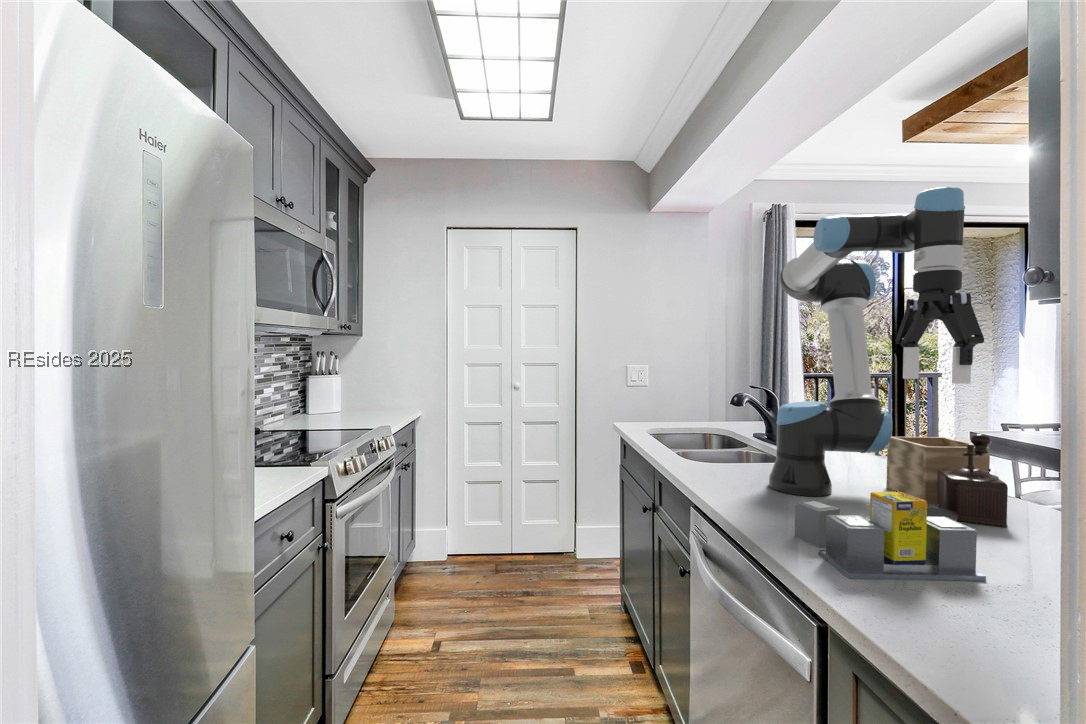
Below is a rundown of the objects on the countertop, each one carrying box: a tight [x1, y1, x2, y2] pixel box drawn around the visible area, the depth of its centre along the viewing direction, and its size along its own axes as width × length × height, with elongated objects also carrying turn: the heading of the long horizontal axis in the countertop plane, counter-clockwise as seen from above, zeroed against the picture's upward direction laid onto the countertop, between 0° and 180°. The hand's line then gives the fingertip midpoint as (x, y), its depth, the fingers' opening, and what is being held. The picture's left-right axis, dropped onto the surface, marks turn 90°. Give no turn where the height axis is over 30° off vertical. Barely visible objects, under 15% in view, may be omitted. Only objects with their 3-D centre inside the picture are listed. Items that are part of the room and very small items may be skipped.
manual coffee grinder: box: [937, 433, 1009, 529], centre depth 119 cm, size 16×11×18 cm
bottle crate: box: [886, 436, 991, 505], centre depth 134 cm, size 15×15×14 cm
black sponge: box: [927, 506, 958, 521], centre depth 110 cm, size 16×8×4 cm, turn 124°
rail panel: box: [818, 514, 987, 582], centre depth 90 cm, size 10×22×8 cm, turn 88°
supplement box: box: [869, 491, 928, 565], centre depth 90 cm, size 6×6×11 cm
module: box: [793, 499, 841, 548], centre depth 102 cm, size 6×5×7 cm
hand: (934, 381), depth 101 cm, fingers open, 13 cm apart
